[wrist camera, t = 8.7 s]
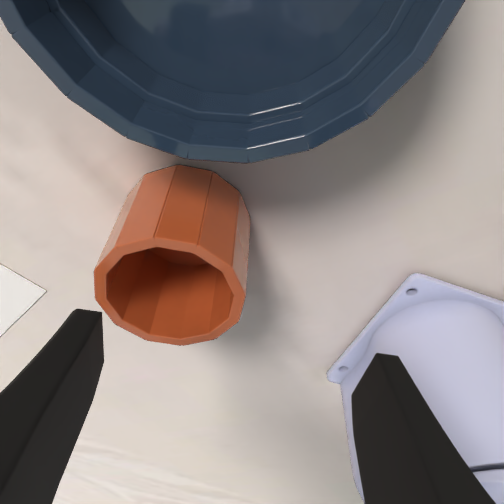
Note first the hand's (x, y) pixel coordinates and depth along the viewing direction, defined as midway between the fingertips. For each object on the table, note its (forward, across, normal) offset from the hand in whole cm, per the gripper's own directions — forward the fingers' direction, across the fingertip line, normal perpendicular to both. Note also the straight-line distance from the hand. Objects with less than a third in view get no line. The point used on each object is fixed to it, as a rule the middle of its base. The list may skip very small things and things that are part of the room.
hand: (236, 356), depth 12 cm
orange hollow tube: (+9, +2, +3) cm, 10 cm away
